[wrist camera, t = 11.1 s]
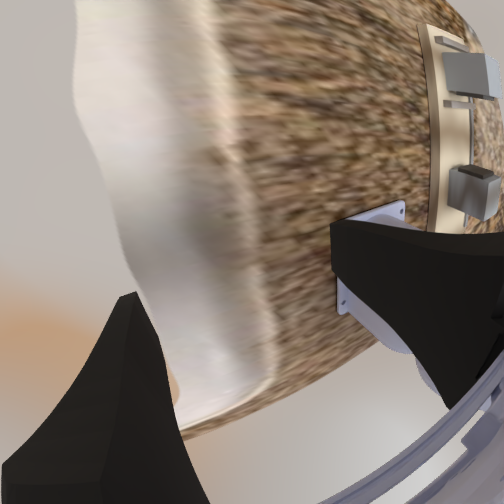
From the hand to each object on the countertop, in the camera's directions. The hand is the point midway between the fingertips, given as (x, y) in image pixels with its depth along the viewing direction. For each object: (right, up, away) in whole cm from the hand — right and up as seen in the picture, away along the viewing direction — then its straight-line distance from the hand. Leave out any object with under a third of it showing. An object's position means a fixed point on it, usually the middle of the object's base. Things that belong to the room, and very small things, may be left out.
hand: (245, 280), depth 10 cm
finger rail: (+21, +13, +14) cm, 28 cm away
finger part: (+20, +19, +9) cm, 29 cm away
